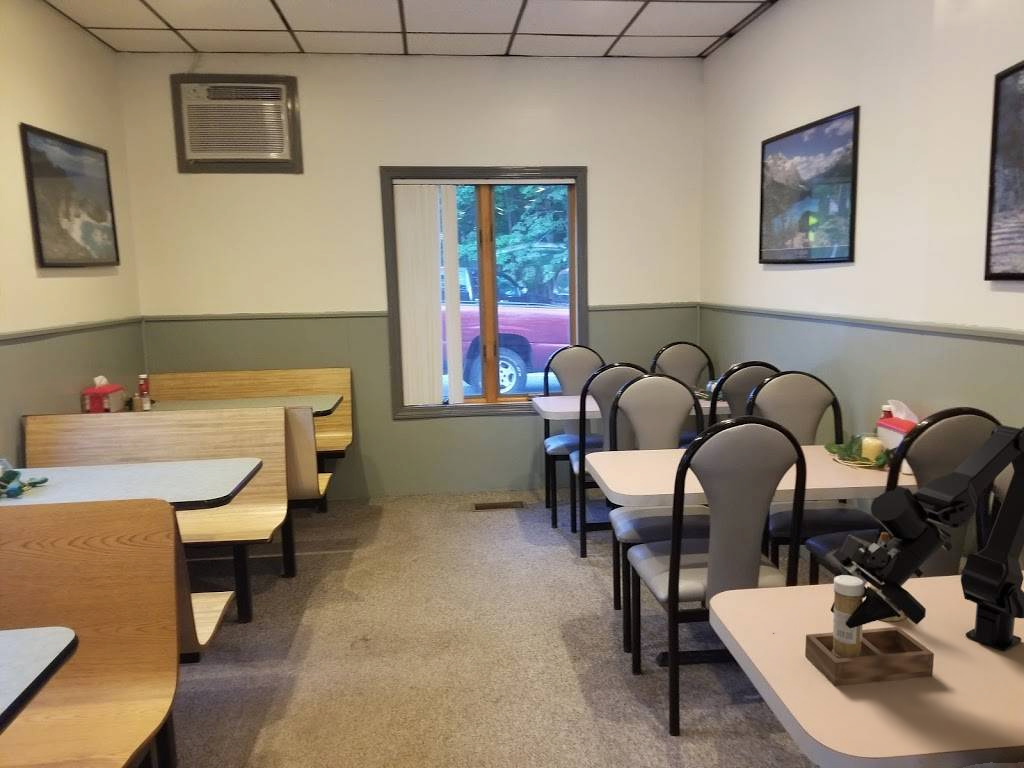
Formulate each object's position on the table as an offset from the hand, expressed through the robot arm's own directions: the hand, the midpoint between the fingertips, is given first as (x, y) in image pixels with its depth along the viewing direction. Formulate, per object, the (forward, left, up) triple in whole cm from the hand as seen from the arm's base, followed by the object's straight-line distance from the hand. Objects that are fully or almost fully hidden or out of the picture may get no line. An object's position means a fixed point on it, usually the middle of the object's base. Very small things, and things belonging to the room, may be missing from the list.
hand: (839, 619), depth 118 cm
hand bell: (-25, -7, -9) cm, 28 cm away
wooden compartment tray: (-5, +2, -9) cm, 10 cm away
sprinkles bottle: (-1, +1, -7) cm, 7 cm away
